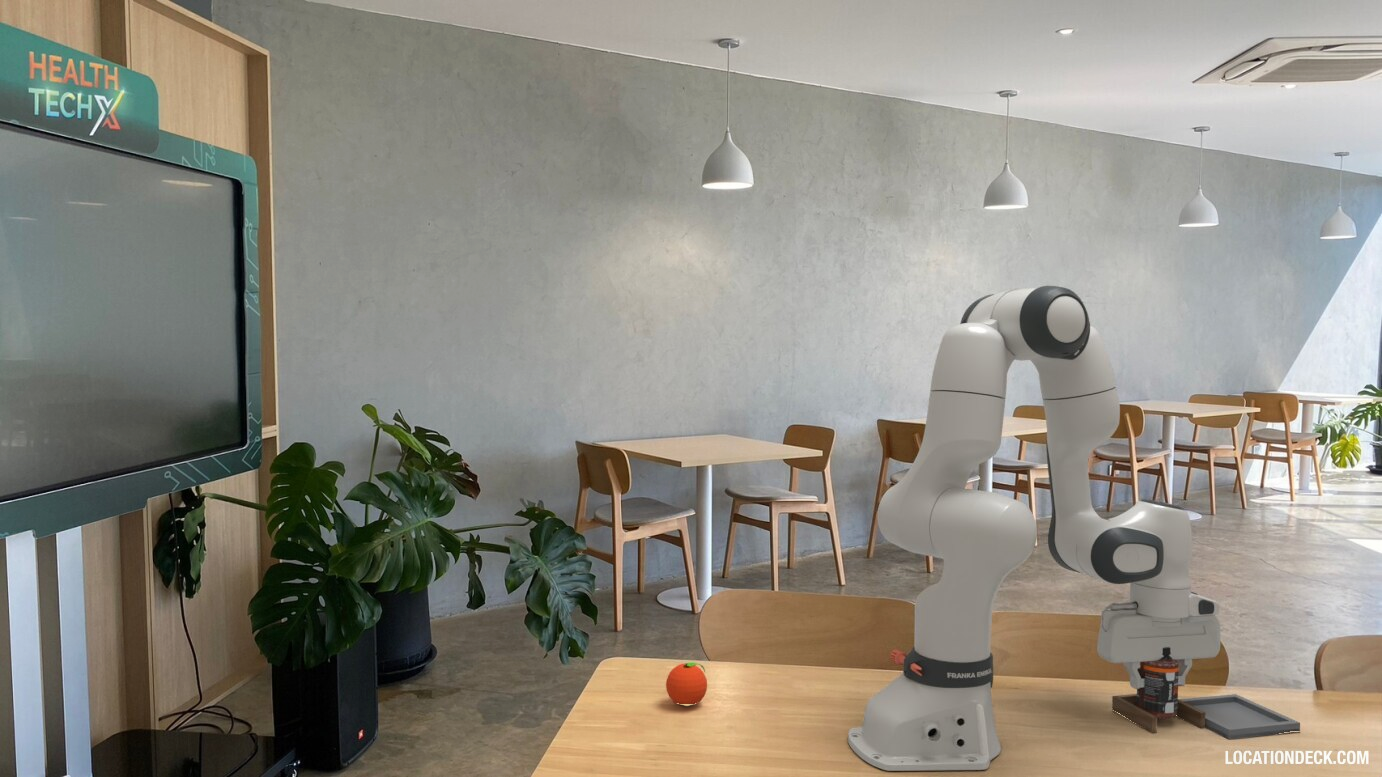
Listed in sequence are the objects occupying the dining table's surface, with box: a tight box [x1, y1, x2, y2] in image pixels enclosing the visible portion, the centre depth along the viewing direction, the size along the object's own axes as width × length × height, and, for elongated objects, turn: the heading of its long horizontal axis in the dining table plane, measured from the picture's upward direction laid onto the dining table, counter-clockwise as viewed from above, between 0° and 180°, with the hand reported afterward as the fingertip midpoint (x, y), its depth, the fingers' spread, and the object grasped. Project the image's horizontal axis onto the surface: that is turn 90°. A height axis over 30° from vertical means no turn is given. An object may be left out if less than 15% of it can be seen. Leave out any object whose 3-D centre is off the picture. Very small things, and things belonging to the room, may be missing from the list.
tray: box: [1178, 693, 1301, 740], centre depth 154 cm, size 13×13×2 cm
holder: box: [1111, 693, 1206, 734], centre depth 155 cm, size 10×10×2 cm
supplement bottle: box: [1136, 647, 1179, 720], centre depth 154 cm, size 6×6×11 cm
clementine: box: [665, 662, 708, 705], centre depth 161 cm, size 8×7×7 cm
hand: (1157, 686), depth 154 cm, fingers closed on supplement bottle, 6 cm apart
